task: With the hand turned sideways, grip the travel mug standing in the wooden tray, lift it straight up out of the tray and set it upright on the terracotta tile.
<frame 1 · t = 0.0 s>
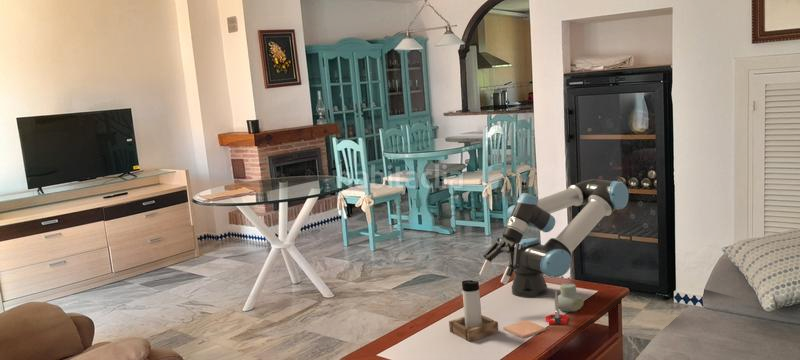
hand: (492, 279, 251), 15 cm above the table, tool tilted 35°, fingers open, 13 cm apart
terracotta tile: (524, 329, 238), on the table
travel mug: (473, 332, 240), resting in wooden tray
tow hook: (556, 321, 244), on the table
wooden tray: (473, 331, 240), on the table
air freshener: (569, 309, 254), on the table
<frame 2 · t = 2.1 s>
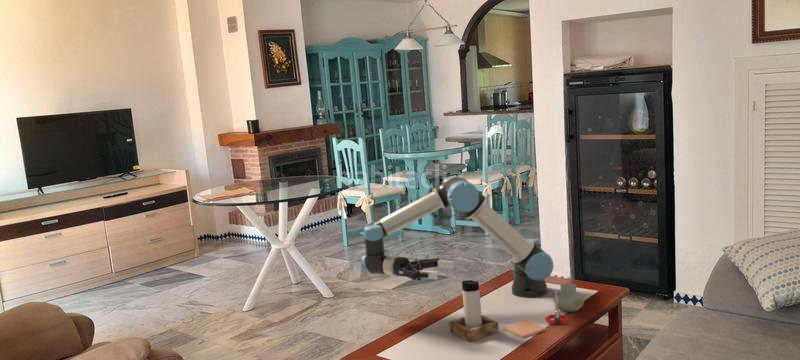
hand: (445, 270, 242), 23 cm above the table, tool horizontal, fingers open, 13 cm apart
nothing on the table moved.
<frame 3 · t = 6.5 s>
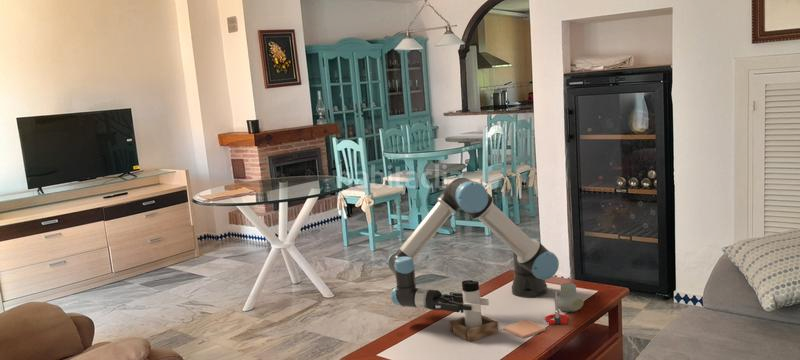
hand: (484, 304, 236), 11 cm above the table, tool horizontal, fingers closed on travel mug, 6 cm apart
travel mug: (473, 332, 240), resting in wooden tray, touching gripper
everything else where it was.
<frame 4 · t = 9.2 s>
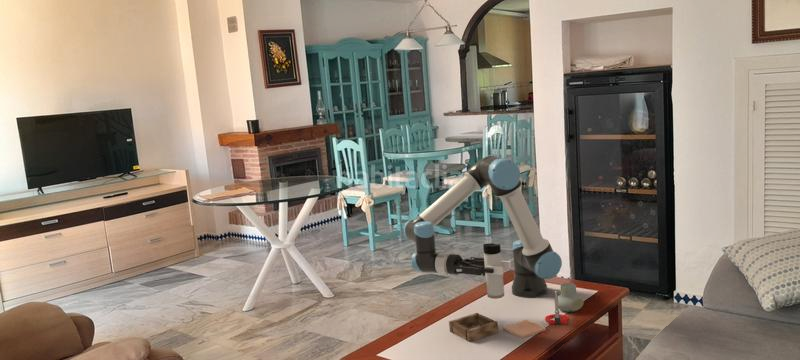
hand: (506, 267, 232), 25 cm above the table, tool horizontal, fingers closed on travel mug, 6 cm apart
travel mug: (495, 296, 236), point 14 cm above the table, touching gripper
everything else where it was.
when the fingers open (13 cm above the table, at t = 12.3 s): travel mug drops 2 cm, resting on terracotta tile.
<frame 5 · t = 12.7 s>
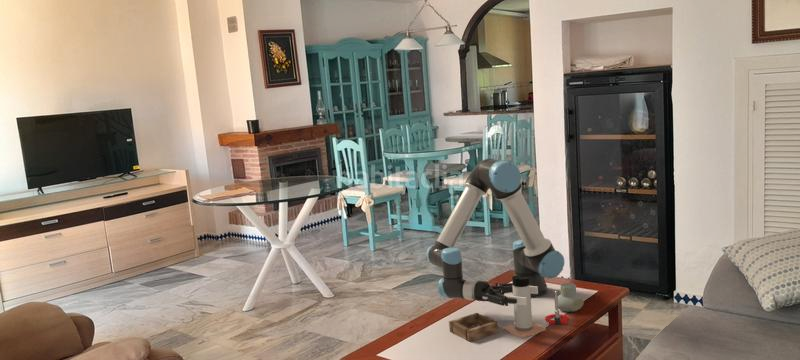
hand: (532, 295, 234), 13 cm above the table, tool horizontal, fingers open, 11 cm apart
travel mug: (523, 328, 237), point 1 cm above the table, touching terracotta tile
everything else where it was.
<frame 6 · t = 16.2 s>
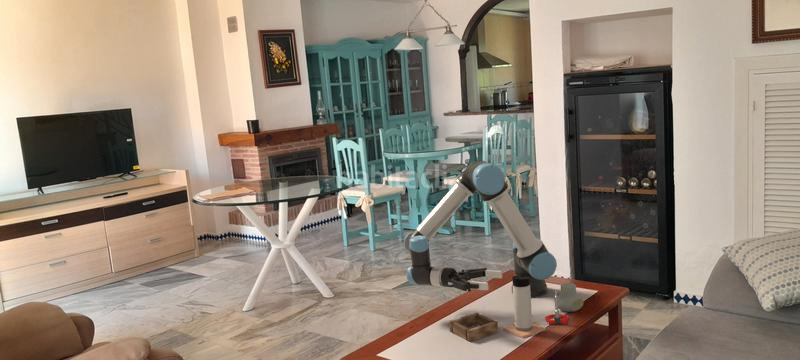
hand: (495, 280, 240), 18 cm above the table, tool horizontal, fingers open, 13 cm apart
nothing on the table moved.
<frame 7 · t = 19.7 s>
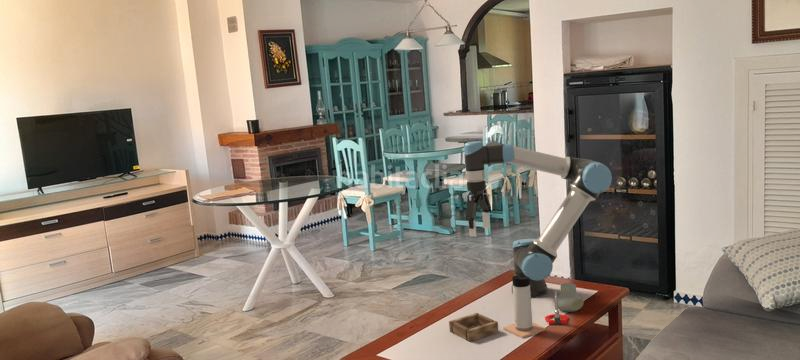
hand: (480, 232, 260), 32 cm above the table, tool pointing down, fingers open, 13 cm apart
nothing on the table moved.
at the end: travel mug inside the target area on the terracotta tile (0.4 cm from its centre), point 0.6 cm above the terracotta tile's base; travel mug tilted 0°; the gripper is holding nothing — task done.
